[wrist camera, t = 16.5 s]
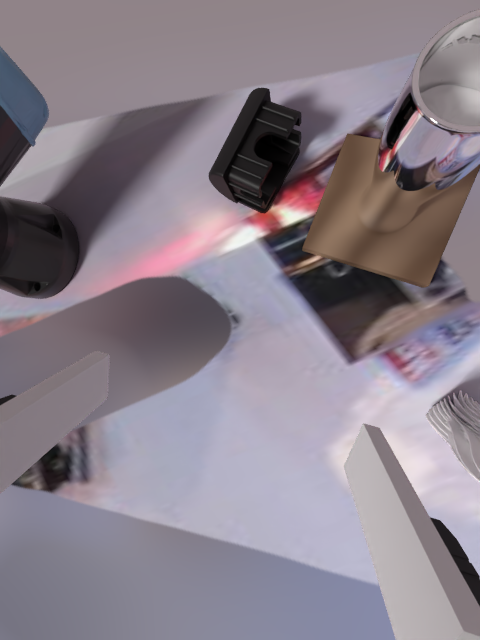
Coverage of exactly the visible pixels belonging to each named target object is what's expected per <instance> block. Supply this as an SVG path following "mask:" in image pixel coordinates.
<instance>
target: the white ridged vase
mask: <svg viewBox="0 0 480 640" xmlns="http://www.w3.org/2000/svg"><path fill="white" fill-rule="evenodd" d="M448 399H449V402H450V404H451V407H450V406H449V404H448V402H447V400H446V399H445V398H444V402H443V401H440V404H439V403H437V404H436V406H433V407H432V408H431V409H429V411H428V413H427V414H426V418H427V420H428V421H429V423H430V425H431V426H432V427H433V429H434V430H435V431H436V432H437V433H438V434H439V435H440V436H441V437H442V438H443V439H444V440H445V441H446V442H447V443H448V444H449V445H450V447H451V449H452V451H453V453H454V455H455V457H456V458H457V460H458V461H459V462H460V464H461V465H462V466H463V467H464V469H465V470H466V471H467V472H468V473H469V474H470V475H471V476H472V477H473V478H475V479H476V480H477V481H478V482H479V483H480V404H478V402H477V401H473V398H472V397H470V398H469V399H468V394H467V393H465V395H464V397H463V395H462V390H460V391H459V395H458V399H457V398H456V396H455V392H453V404H452V402H451V399H450V396H449V395H448ZM465 401H466V402H465ZM451 408H452V409H453V410H454V412H455V413H456V414H457V415H458V416H459V417H460V418H462V419H463V420H464V421H465V422H467V423H465V422H464V421H463V420H461V419H460V418H459V417H458V416H457V415H456V414H455V413H454V412H453V411H452V409H451ZM468 418H469V419H468ZM458 419H459V420H460V421H459V420H458Z"/></svg>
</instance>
